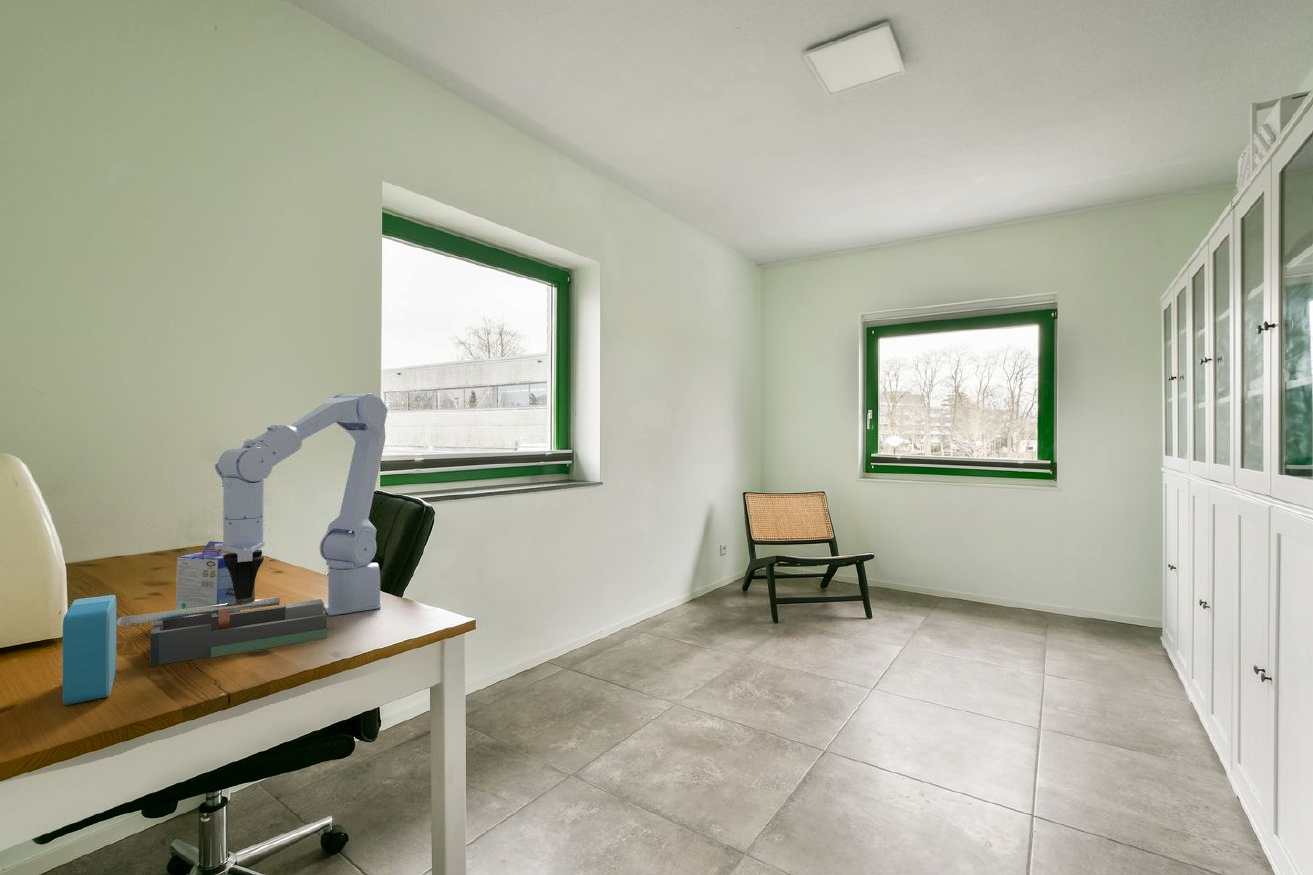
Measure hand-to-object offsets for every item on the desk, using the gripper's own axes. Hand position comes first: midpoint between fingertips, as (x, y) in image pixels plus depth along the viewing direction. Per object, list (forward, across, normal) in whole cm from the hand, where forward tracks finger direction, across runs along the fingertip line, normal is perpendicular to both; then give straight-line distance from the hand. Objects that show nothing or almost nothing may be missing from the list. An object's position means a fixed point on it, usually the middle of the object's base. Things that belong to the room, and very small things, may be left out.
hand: (243, 595), depth 105 cm
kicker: (+6, 0, -6) cm, 8 cm away
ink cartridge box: (+8, -19, -5) cm, 21 cm away
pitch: (+8, 0, 0) cm, 8 cm away
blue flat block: (+8, +11, -18) cm, 23 cm away
